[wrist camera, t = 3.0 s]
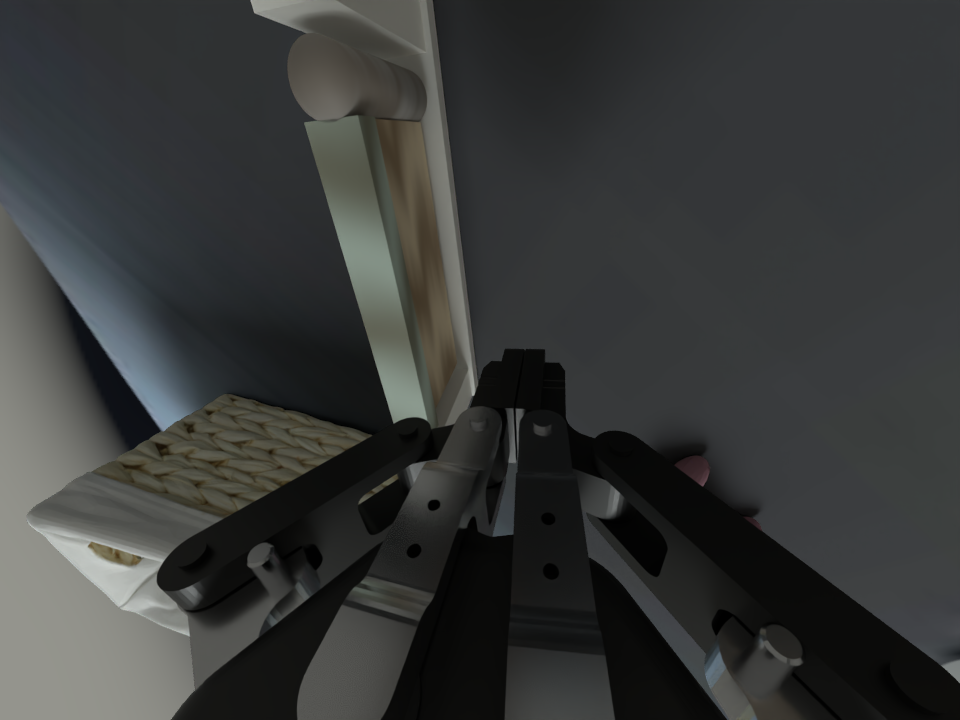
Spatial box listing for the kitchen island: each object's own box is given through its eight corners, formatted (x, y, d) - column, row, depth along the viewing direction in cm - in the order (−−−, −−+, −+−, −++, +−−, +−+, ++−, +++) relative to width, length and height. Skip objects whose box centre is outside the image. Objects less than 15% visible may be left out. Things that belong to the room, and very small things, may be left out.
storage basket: (245, 478, 42) (116, 618, 30) (207, 372, 33) (0, 511, 21) (435, 534, 40) (378, 707, 28) (450, 438, 31) (376, 633, 19)
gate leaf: (378, 72, 16) (276, 39, 11) (422, 65, 16) (340, 26, 10) (435, 367, 25) (396, 437, 19) (464, 368, 25) (433, 440, 19)
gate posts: (369, -2, 16) (203, -116, 9) (430, -16, 15) (306, -152, 8) (441, 386, 28) (396, 477, 20) (478, 387, 27) (445, 482, 20)
